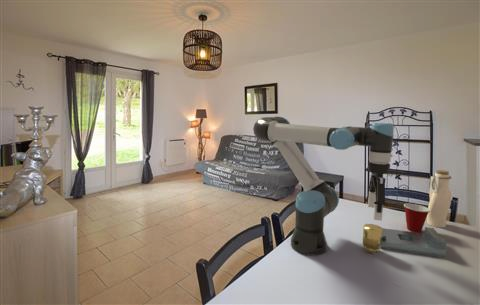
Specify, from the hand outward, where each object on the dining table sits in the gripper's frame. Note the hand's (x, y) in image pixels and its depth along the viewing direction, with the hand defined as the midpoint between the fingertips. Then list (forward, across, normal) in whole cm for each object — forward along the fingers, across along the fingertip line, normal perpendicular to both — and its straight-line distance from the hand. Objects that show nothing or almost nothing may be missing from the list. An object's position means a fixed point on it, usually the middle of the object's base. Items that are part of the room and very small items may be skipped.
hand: (374, 213), depth 104 cm
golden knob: (+16, -1, 0) cm, 17 cm away
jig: (+16, +10, -15) cm, 25 cm away
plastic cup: (+16, +27, -24) cm, 39 cm away
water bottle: (+16, +37, -36) cm, 54 cm away
